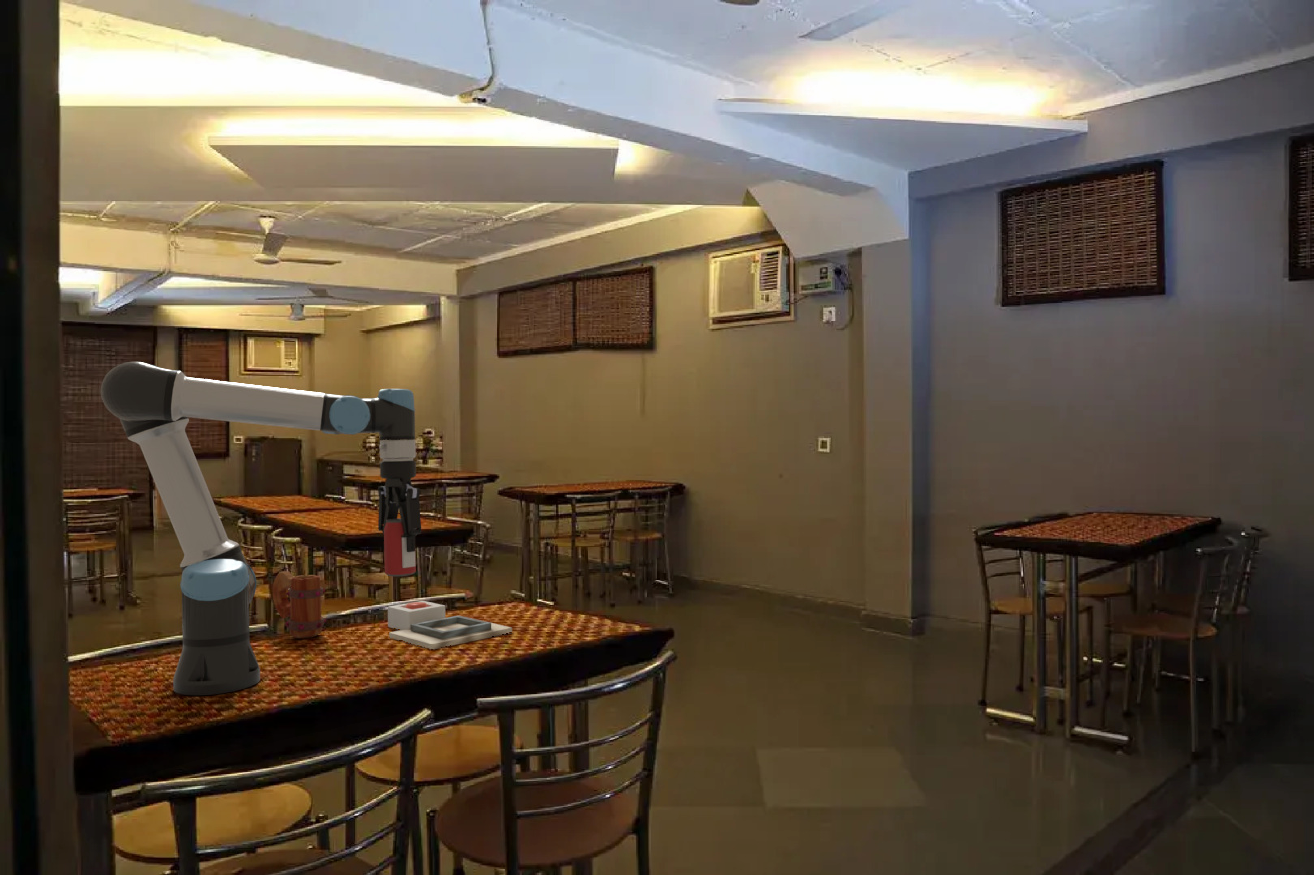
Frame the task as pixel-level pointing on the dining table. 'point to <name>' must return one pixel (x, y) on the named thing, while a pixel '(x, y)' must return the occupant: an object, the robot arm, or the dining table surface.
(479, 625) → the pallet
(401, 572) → the beer can
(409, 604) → the button
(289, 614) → the mug
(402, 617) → the button box
